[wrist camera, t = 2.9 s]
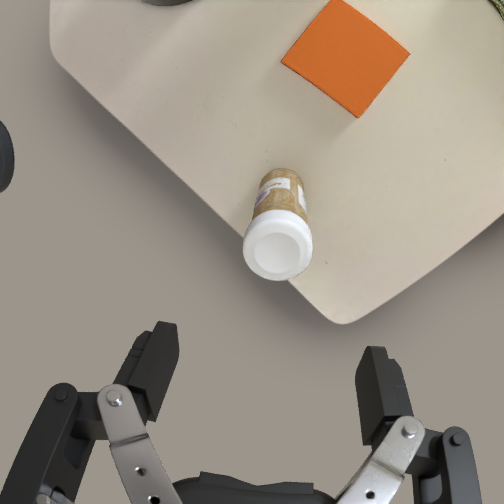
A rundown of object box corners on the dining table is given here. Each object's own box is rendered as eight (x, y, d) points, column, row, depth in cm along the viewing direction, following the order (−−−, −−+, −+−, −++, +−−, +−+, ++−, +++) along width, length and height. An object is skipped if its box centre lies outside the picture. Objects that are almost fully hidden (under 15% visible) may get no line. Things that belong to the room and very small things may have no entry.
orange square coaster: (280, 62, 26) (280, 61, 25) (333, -3, 22) (335, -5, 21) (357, 118, 28) (358, 118, 27) (408, 54, 24) (410, 53, 23)
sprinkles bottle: (268, 161, 31) (255, 209, 19) (311, 178, 31) (325, 236, 19) (252, 201, 33) (232, 269, 21) (293, 216, 33) (296, 292, 22)
